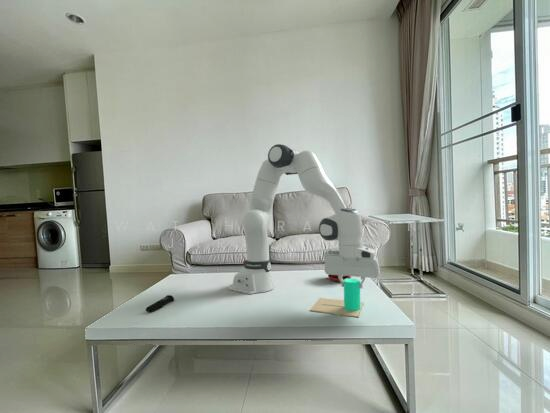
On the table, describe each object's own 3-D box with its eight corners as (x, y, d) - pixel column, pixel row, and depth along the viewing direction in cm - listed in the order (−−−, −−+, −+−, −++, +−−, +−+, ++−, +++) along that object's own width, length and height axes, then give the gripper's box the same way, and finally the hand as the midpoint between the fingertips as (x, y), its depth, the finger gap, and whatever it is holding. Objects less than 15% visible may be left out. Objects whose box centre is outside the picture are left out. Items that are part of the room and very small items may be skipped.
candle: (361, 311, 104) (360, 279, 103) (344, 310, 105) (344, 278, 104) (359, 305, 110) (358, 274, 109) (343, 304, 111) (343, 274, 110)
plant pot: (328, 283, 141) (327, 259, 141) (326, 276, 154) (326, 254, 154) (354, 283, 140) (353, 259, 139) (351, 275, 153) (350, 254, 152)
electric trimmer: (143, 314, 112) (142, 306, 112) (168, 300, 127) (167, 293, 127) (151, 315, 111) (150, 307, 111) (175, 300, 126) (174, 293, 126)
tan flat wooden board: (309, 311, 107) (309, 309, 107) (320, 298, 120) (319, 297, 120) (358, 317, 99) (358, 316, 99) (363, 303, 112) (363, 302, 112)
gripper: (321, 251, 108) (323, 287, 108) (378, 253, 99) (379, 292, 100) (326, 248, 114) (327, 282, 114) (379, 250, 105) (380, 287, 105)
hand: (352, 287), depth 107 cm, fingers open, 5 cm apart
